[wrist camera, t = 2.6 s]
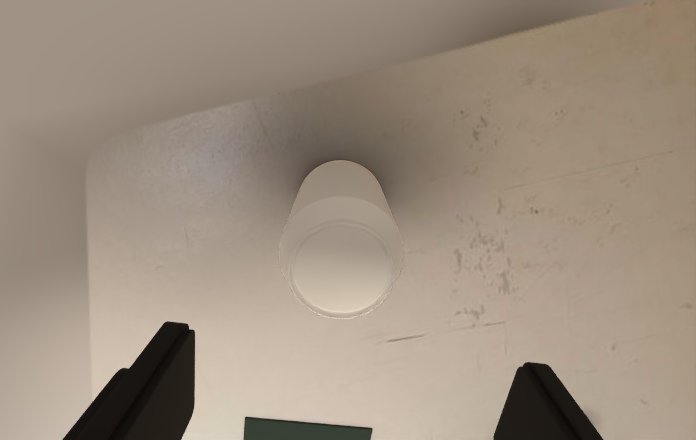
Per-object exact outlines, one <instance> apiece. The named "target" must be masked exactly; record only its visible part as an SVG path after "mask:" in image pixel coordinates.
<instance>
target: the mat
mask: <svg viewBox="0 0 696 440" xmlns="http://www.w3.org/2000/svg"><path fill="white" fill-rule="evenodd" d="M371 434H372V429H371V428H360V427H349V426H337V425H326V424H315V423H304V422H292V421H281V420H270V419H259V418H247V417H246V418H245V428H244V440H370V439H371Z"/></svg>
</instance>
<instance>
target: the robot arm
mask: <svg viewBox="0 0 696 440" xmlns="http://www.w3.org/2000/svg"><path fill="white" fill-rule="evenodd" d="M194 391H195V332H194V330H190V329H189V326H188V324H185V323H176V322H165V323H164V324H163V325H162V327H161V328H160V329H159V331H158V332H157V333H156V334H155V336H154V337H153V338H152V340H151V341H150V342H149V344H148V345H147V346H146V347H145V349H144V350H143V351H142V353H141V354H140V355H139V357H138V358H137V359H136V361H135V362H134V363H133V364H132V366H131V367H130V368H129V369H127V368H122V369H120V370H119V371H118V372H117V373H116V374H115V375H114V376H113V377H112V379H111V380H110V381H109V382H108V384H107V385H106V386H105V387H104V388H103V390H102V391H101V392H100V393H99V395H98V396H97V397H96V398H95V400H94V401H93V402H92V403H91V405H90V406H89V407H88V409H87V410H86V411H85V412H84V413H83V415H82V416H81V417H80V419H79V420H78V421H77V422H76V424H75V425H74V426H73V427H72V428H71V430H70V431H69V432H68V434H67V435H66V436H65V437H64V438H63V440H181V439H182V436H183V434H184V432H185V430H186V428H187V426H188V424H189V421H190V419H191V417H192V414H193V410H194ZM494 440H603V438H602V437H601V436H600V434H599V433H598V432H597V430H596V429H595V427H594V426H593V425H592V423H591V422H590V421H589V419H588V418H587V417H586V415H585V414H584V412H583V411H582V410H581V408H580V407H579V406H578V404H577V403H576V402H575V400H574V399H573V397H572V396H571V395H570V393H569V392H568V391H567V389H566V388H565V387H564V385H563V384H562V382H561V381H560V380H559V378H558V377H557V376H556V374H555V373H554V372H553V370H552V369H551V368H550V367H549V366H548V365H546V364H540V363H531V362H526V363H525V364H524V365H523V367H519V368H518V369H517V372H516V375H515V377H514V380H513V383H512V386H511V389H510V391H509V394H508V397H507V400H506V403H505V405H504V408H503V411H502V414H501V417H500V419H499V422H498V425H497V428H496V431H495V433H494Z"/></svg>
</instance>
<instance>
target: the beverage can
mask: <svg viewBox="0 0 696 440" xmlns="http://www.w3.org/2000/svg"><path fill="white" fill-rule="evenodd" d="M403 259H404V247H403V241H402V238H401V235H400V232H399V229H398V227H397V225H396V222H395V220H394V217H393V215H392V212H391V210H390V208H389V205H388V203H387V200H386V198H385V196H384V193H383V191H382V189H381V186H380V184H379V183H378V181H377V179H376V178H375V176H374V175H373V174H372V173H371V172H370V171H369V170H367V169H366V168H365V167H363V166H361V165H359V164H357V163H355V162H351V161H346V160H335V161H330V162H327V163H324V164H322V165H320V166H318V167H317V168H315V169H314V170H313V171H311V172H310V173H309V174H308V176H307V177H306V178H305V180H304V181H303V183H302V185H301V187H300V190H299V192H298V194H297V197H296V200H295V202H294V205H293V207H292V210H291V212H290V215H289V218H288V220H287V223H286V225H285V228H284V231H283V233H282V236H281V239H280V244H279V264H280V268H281V271H282V274H283V276H284V278H285V280H286V282H287V283H288V285H289V286H290V287H291V290H292V292H293V294H294V295H295V297H296V298H297V299H298V301H299V302H300V303H301V304H302V305H303V306H305V307H306V308H307V309H308V310H310V311H312V312H313V313H315V314H318V315H320V316H323V317H326V318H331V319H352V318H356V317H360V316H362V315H365V314H367V313H369V312H371V311H372V310H374V309H375V308H377V307H378V306H379V305H380V304H381V303H382V302H383V301H384V300H385V299H386V298H387V296H388V295H389V293H390V291H391V289H392V287H393V285H394V283H395V282H396V280H397V278H398V276H399V274H400V272H401V269H402V265H403Z"/></svg>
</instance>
